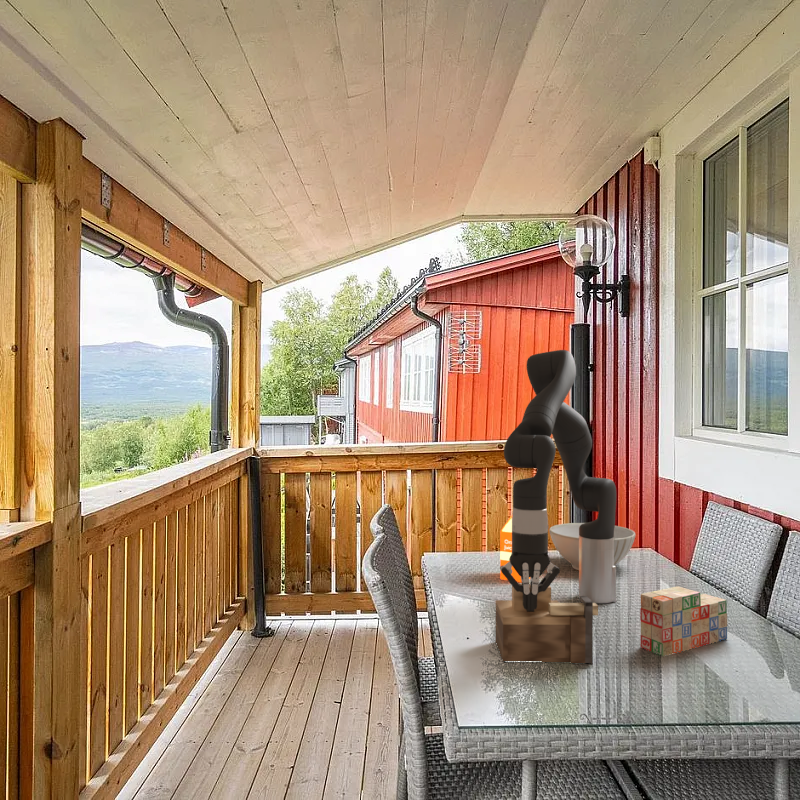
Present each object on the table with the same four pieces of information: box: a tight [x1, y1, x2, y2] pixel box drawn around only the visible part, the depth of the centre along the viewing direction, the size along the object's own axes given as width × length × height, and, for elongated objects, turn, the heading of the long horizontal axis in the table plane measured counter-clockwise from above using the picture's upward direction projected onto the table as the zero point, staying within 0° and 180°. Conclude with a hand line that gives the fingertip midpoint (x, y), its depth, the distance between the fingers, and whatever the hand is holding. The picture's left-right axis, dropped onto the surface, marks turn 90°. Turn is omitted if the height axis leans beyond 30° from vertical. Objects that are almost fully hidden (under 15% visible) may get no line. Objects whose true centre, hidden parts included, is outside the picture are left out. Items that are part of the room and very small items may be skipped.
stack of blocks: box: [639, 586, 728, 657], centre depth 156 cm, size 21×6×12 cm, turn 118°
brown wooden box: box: [495, 596, 594, 665], centre depth 150 cm, size 18×13×13 cm
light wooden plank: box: [548, 602, 599, 616], centre depth 146 cm, size 10×2×2 cm, turn 90°
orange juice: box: [499, 514, 530, 583], centre depth 212 cm, size 8×9×20 cm
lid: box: [495, 583, 570, 625], centre depth 151 cm, size 14×12×8 cm
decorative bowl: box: [548, 522, 636, 571], centre depth 224 cm, size 27×27×12 cm
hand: (529, 610), depth 146 cm, fingers closed
